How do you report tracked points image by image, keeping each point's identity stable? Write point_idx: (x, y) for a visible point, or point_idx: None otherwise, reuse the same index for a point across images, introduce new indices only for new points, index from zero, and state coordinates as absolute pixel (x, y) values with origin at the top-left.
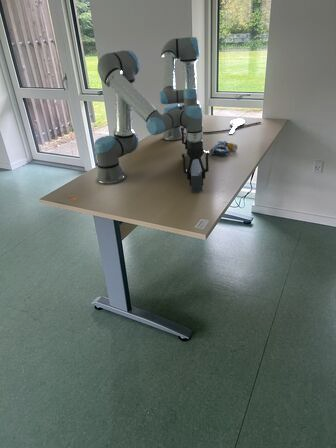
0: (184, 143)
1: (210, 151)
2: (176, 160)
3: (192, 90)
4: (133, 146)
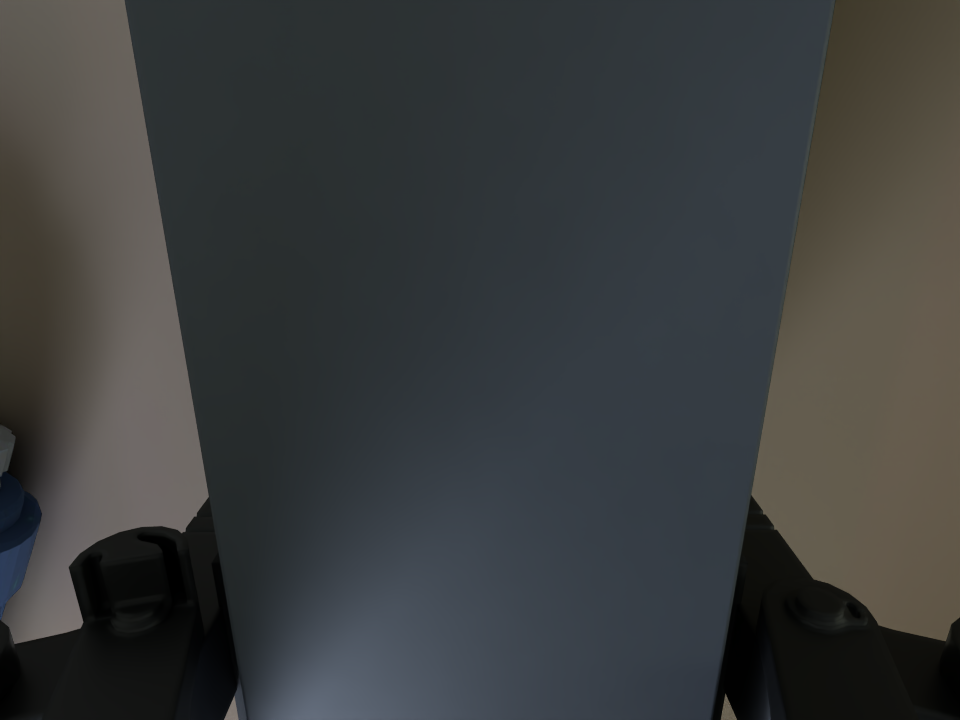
0: (894, 651)
1: (7, 512)
2: (916, 234)
3: None
4: None
